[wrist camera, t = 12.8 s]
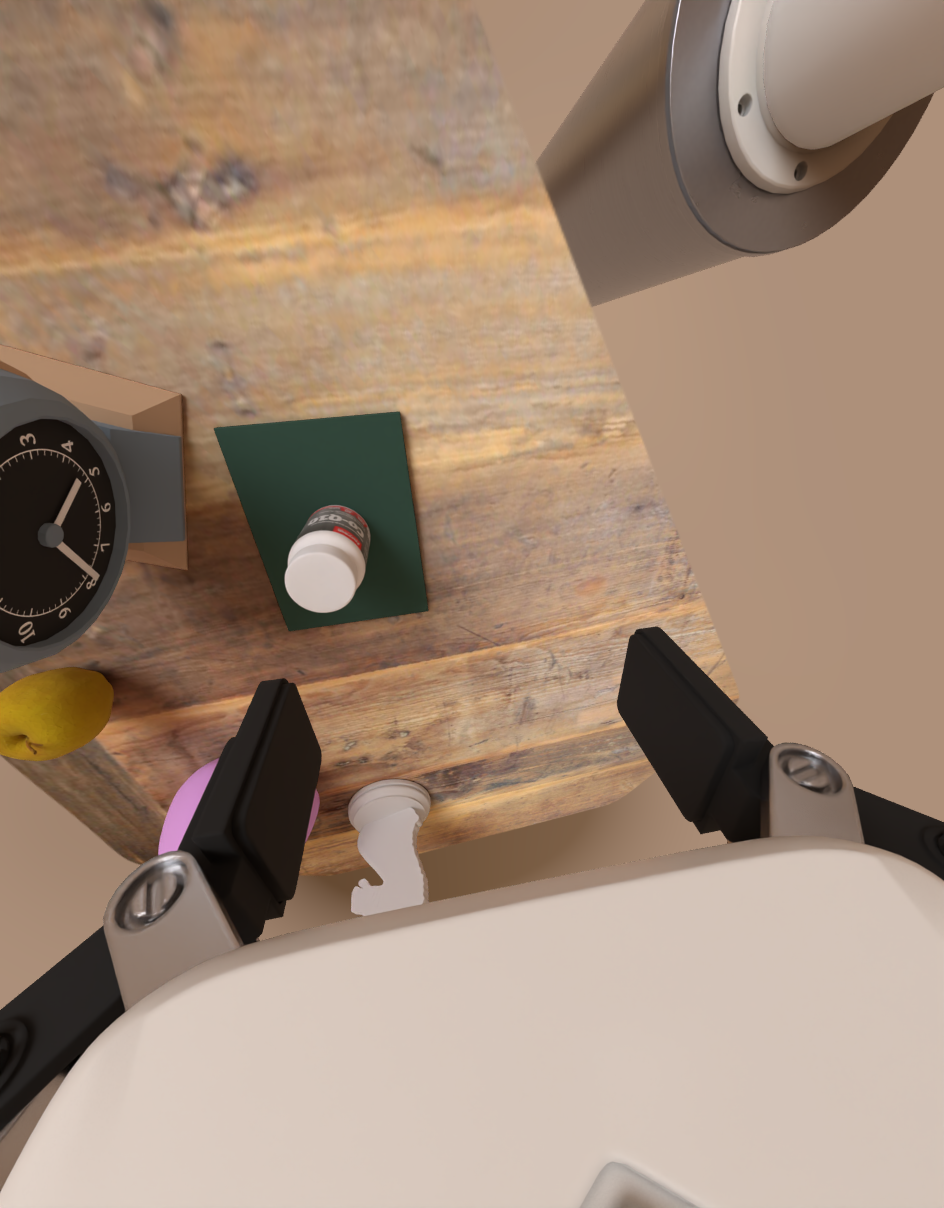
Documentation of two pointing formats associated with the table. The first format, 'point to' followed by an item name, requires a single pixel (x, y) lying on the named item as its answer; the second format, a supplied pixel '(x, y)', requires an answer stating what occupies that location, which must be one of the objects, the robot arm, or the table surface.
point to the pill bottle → (328, 559)
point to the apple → (53, 713)
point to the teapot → (188, 803)
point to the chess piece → (390, 844)
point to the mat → (331, 477)
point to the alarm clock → (80, 496)
